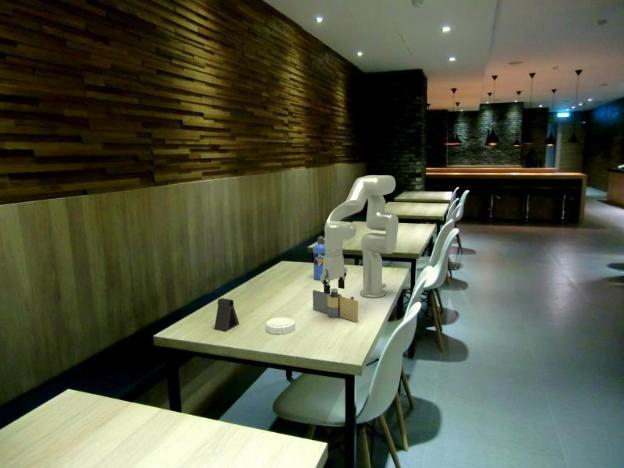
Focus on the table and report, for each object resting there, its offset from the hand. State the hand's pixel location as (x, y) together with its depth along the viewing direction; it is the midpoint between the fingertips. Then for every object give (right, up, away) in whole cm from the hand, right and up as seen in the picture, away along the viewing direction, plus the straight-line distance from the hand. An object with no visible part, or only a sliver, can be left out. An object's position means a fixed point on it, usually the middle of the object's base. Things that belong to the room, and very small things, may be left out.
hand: (334, 290), depth 192 cm
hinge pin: (0, -11, +2) cm, 11 cm away
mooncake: (-23, -14, -12) cm, 29 cm away
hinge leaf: (+4, -11, -1) cm, 12 cm away
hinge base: (-3, -11, +5) cm, 12 cm away
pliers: (+2, -10, +16) cm, 19 cm away
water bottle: (-4, -1, +63) cm, 63 cm away
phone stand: (-45, -14, -9) cm, 48 cm away
